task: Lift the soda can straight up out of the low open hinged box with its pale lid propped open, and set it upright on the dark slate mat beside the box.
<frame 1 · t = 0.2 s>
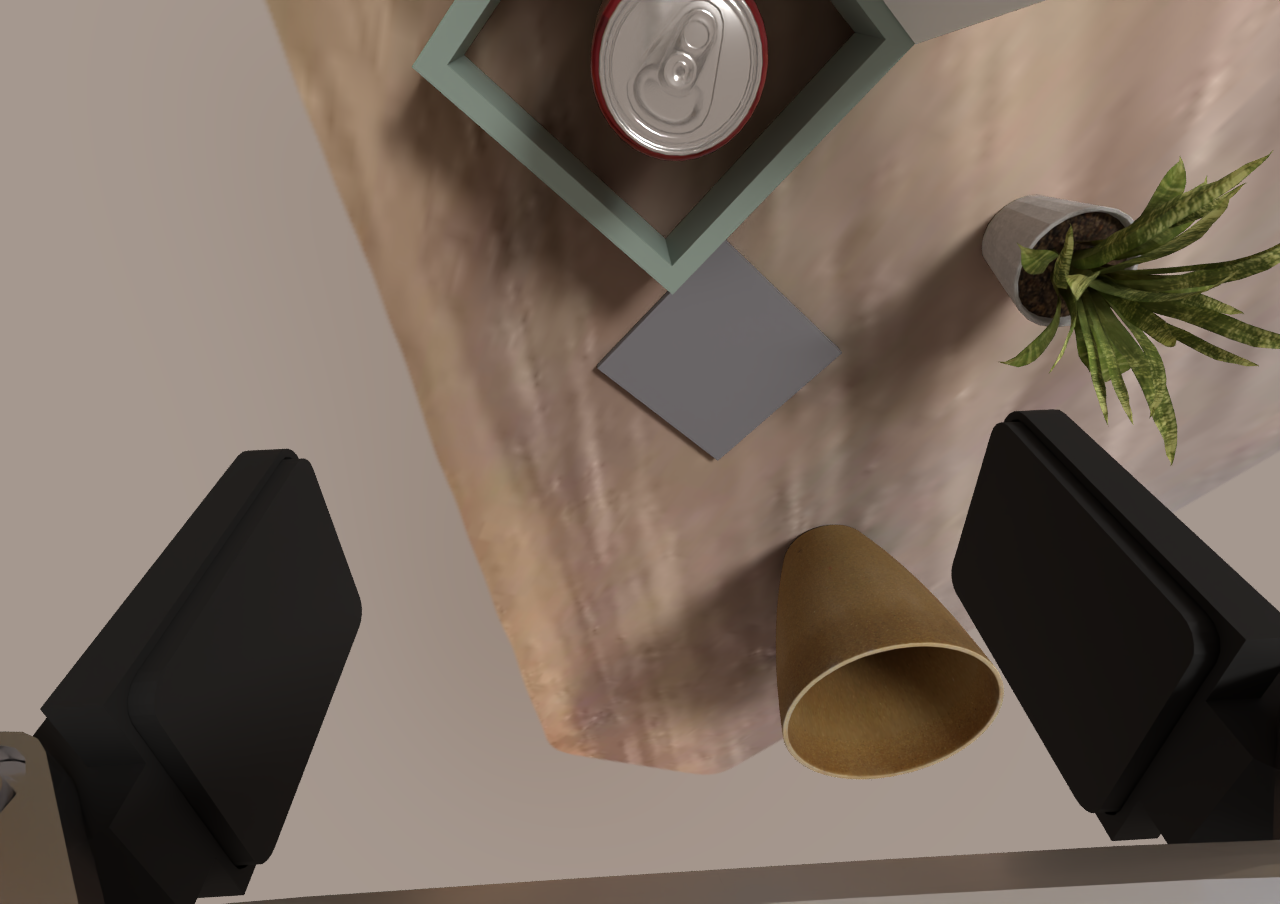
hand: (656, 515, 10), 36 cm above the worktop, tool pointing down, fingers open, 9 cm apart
plant pot: (828, 554, 60), on the worktop
open hinged box: (660, 43, 38), on the worktop
soda can: (659, 43, 38), resting in open hinged box
house plant: (1033, 247, 45), on the worktop
slate mat: (718, 356, 48), on the worktop
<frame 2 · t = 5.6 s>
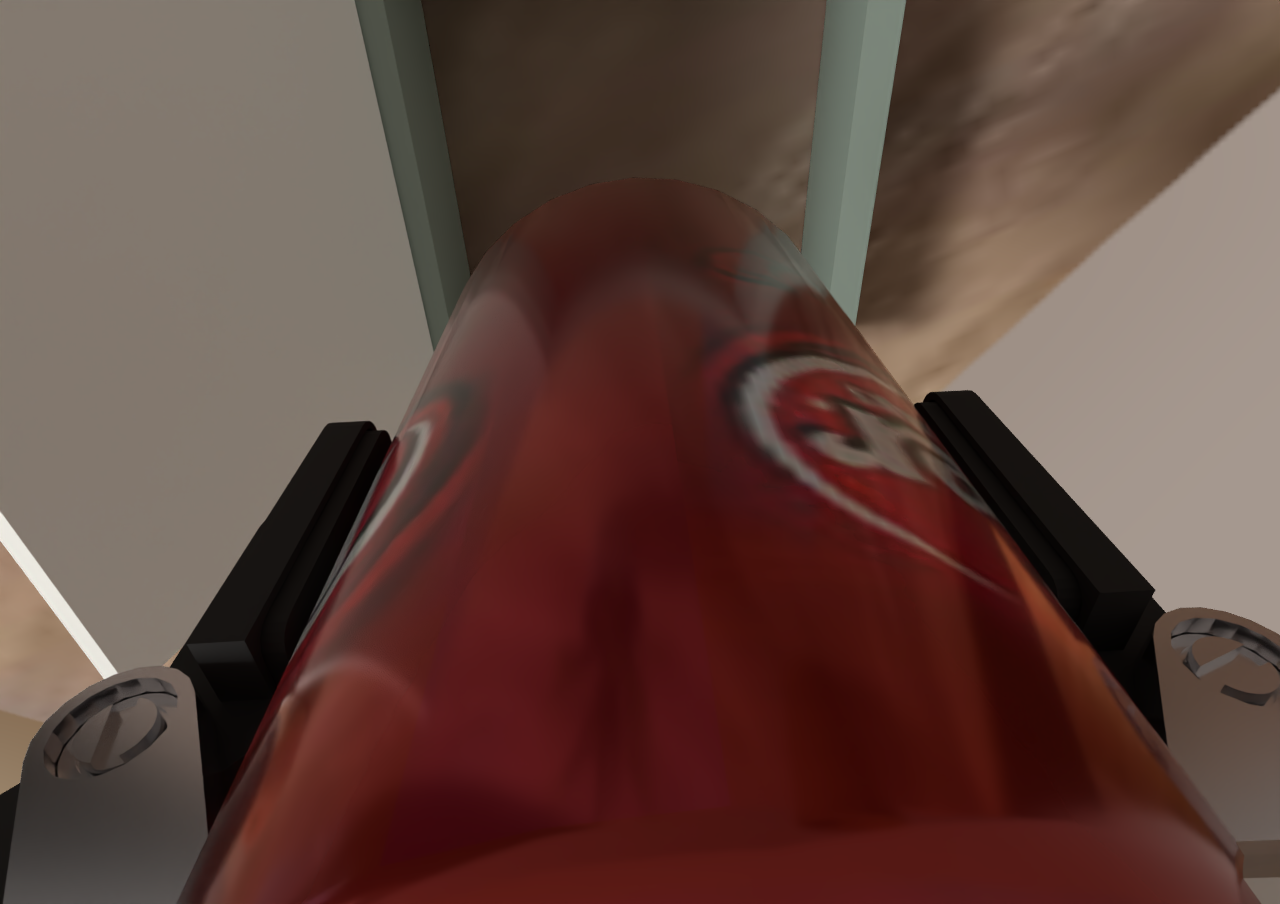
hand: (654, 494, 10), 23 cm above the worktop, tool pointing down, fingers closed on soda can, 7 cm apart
open hinged box: (631, 145, 29), on the worktop
soda can: (640, 355, 14), point 18 cm above the worktop, touching gripper
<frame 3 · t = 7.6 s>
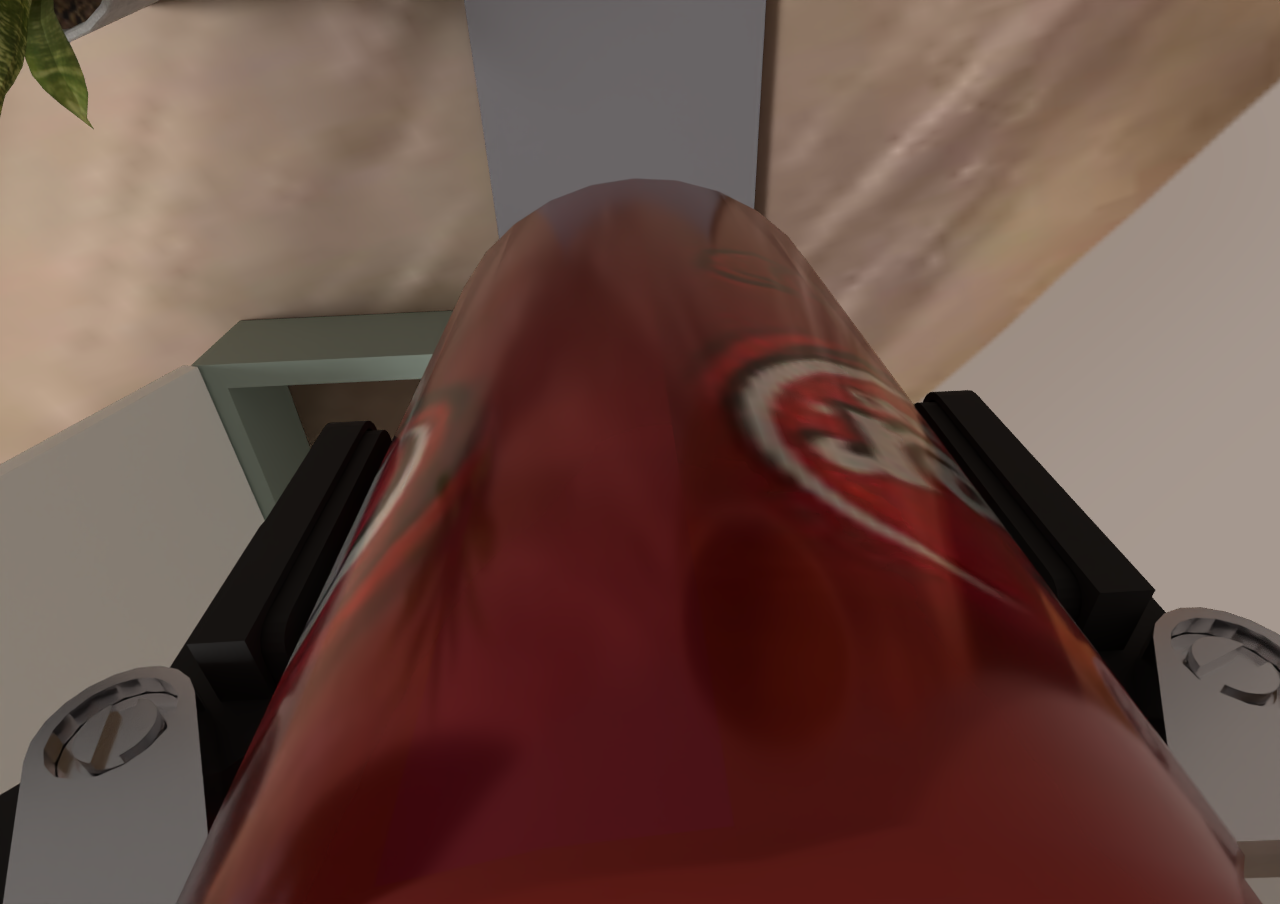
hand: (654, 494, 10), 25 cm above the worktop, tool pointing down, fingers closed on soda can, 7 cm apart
open hinged box: (445, 454, 40), on the worktop
soda can: (640, 357, 14), point 21 cm above the worktop, touching gripper
slate mat: (622, 148, 31), on the worktop
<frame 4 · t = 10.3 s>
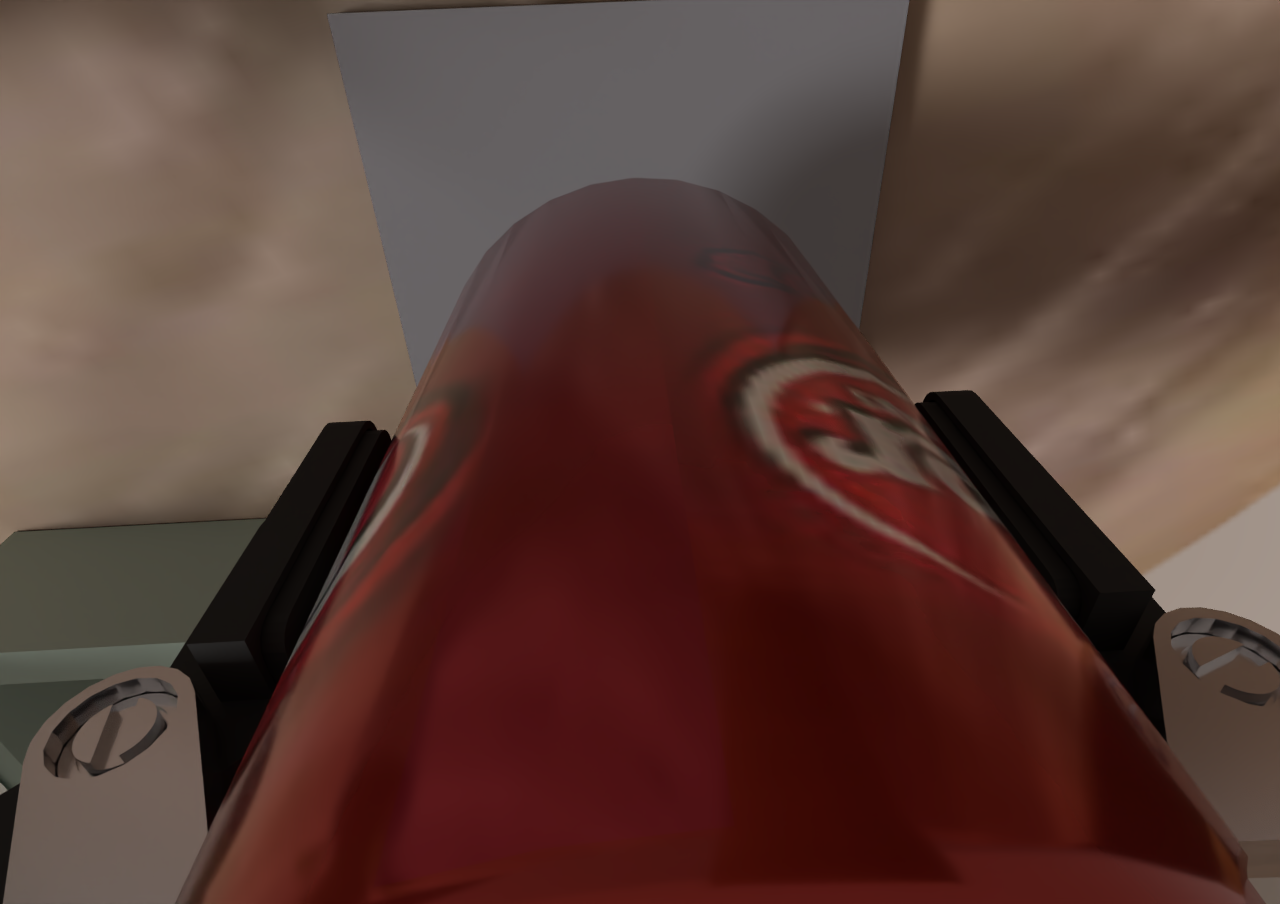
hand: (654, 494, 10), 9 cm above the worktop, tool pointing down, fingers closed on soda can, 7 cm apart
open hinged box: (363, 692, 27), on the worktop
soda can: (641, 356, 14), point 5 cm above the worktop, touching gripper
slate mat: (631, 275, 18), on the worktop
when the fingers open (6 cm above the worktop, at t = 12.2 s): soda can stays where it is, resting on slate mat.
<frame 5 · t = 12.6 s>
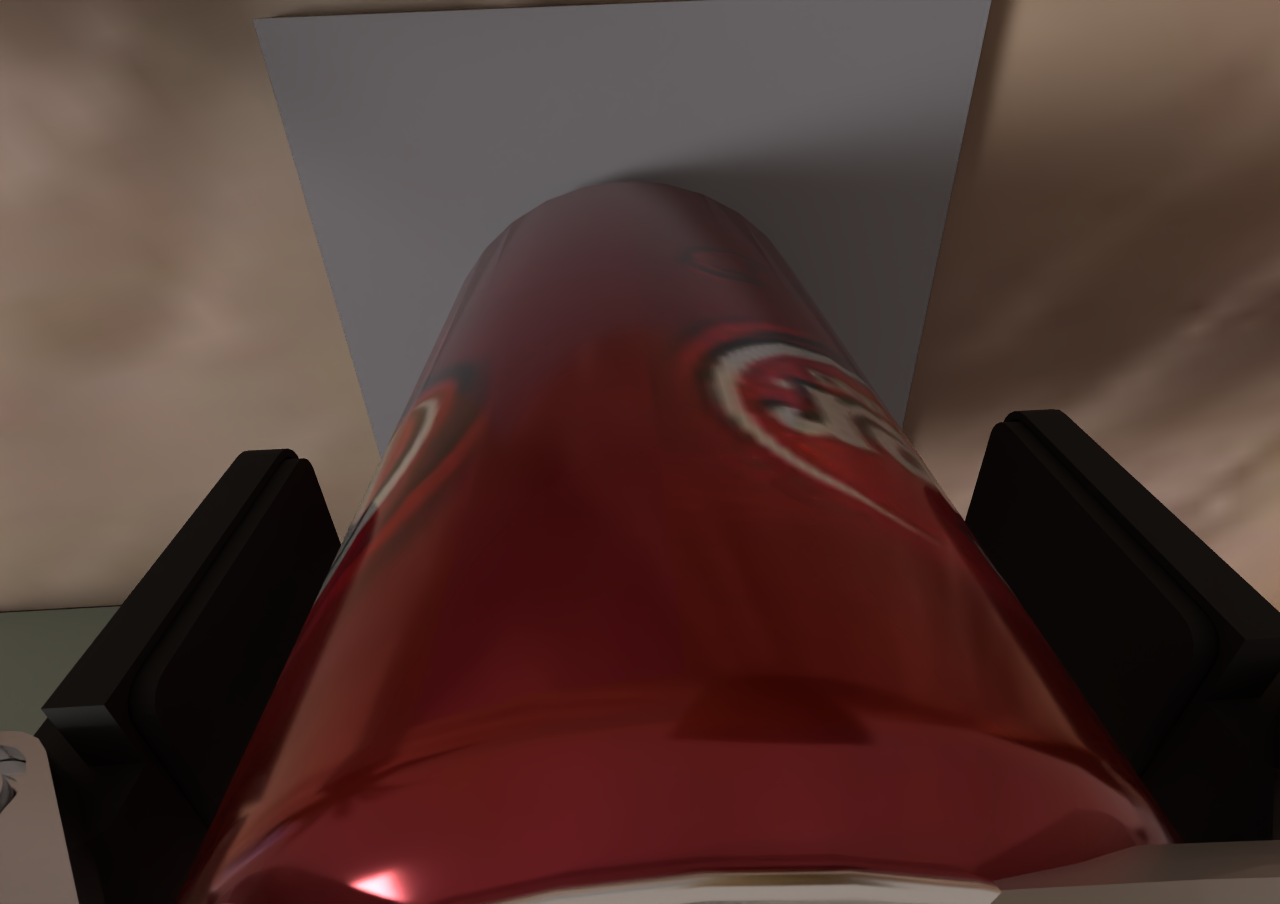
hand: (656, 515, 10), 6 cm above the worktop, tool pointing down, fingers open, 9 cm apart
open hinged box: (334, 779, 24), on the worktop
soda can: (630, 349, 15), resting on slate mat
slate mat: (638, 332, 15), on the worktop
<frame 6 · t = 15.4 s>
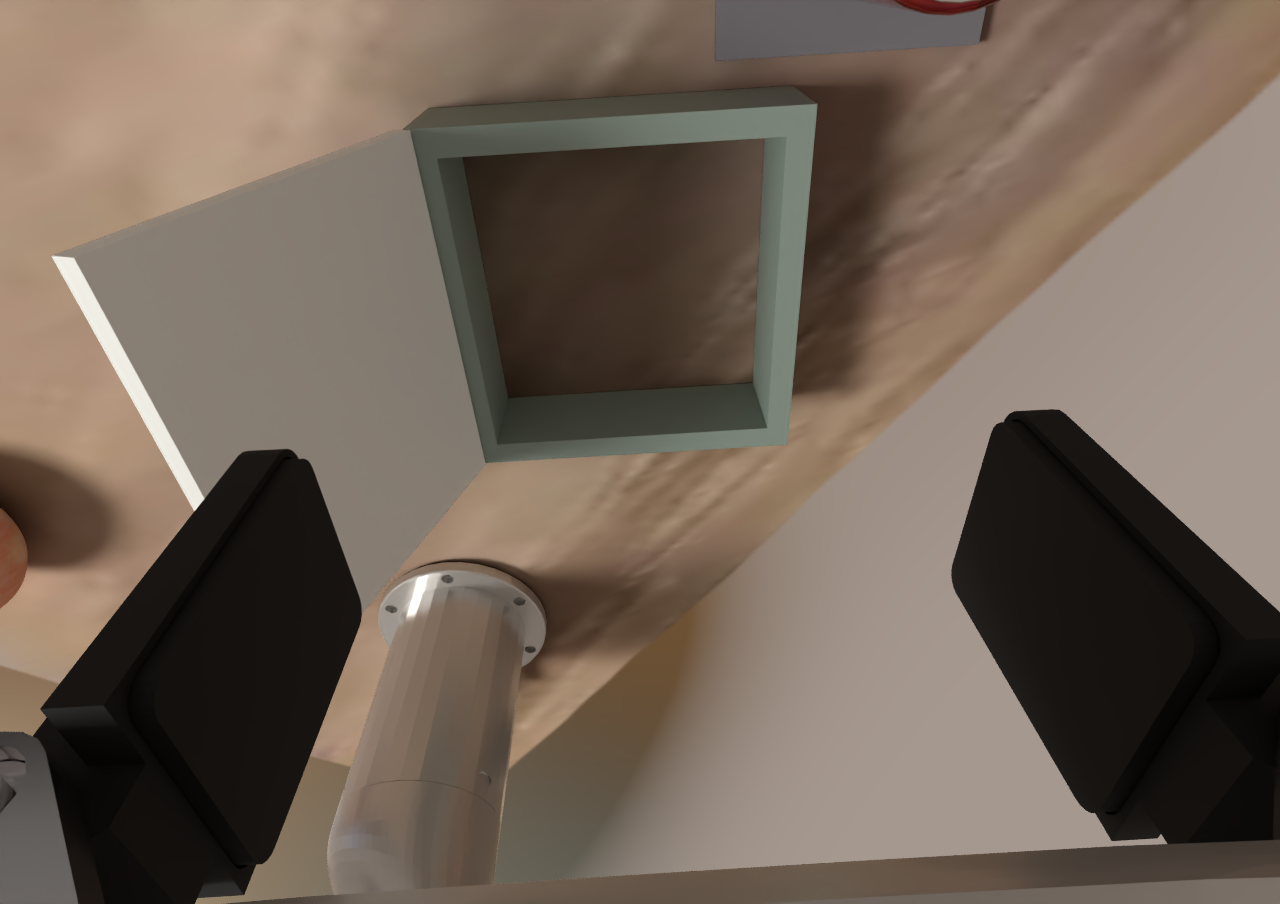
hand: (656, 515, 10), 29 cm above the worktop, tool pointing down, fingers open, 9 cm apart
open hinged box: (622, 272, 38), on the worktop
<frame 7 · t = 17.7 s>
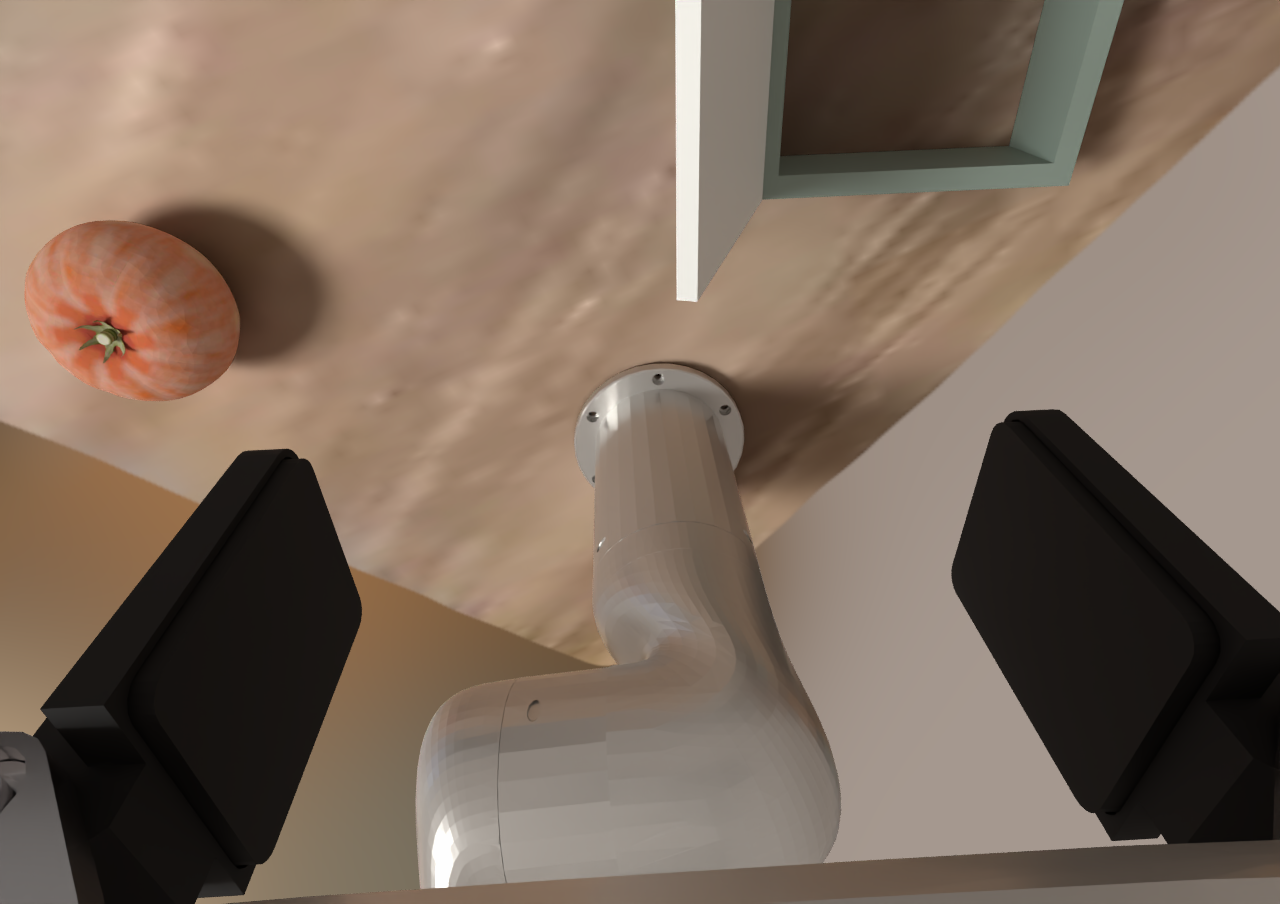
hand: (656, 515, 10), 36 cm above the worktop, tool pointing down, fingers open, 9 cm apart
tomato: (174, 289, 45), on the worktop
open hinged box: (908, 2, 37), on the worktop
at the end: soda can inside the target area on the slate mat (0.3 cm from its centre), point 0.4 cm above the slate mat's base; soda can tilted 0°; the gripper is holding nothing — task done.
